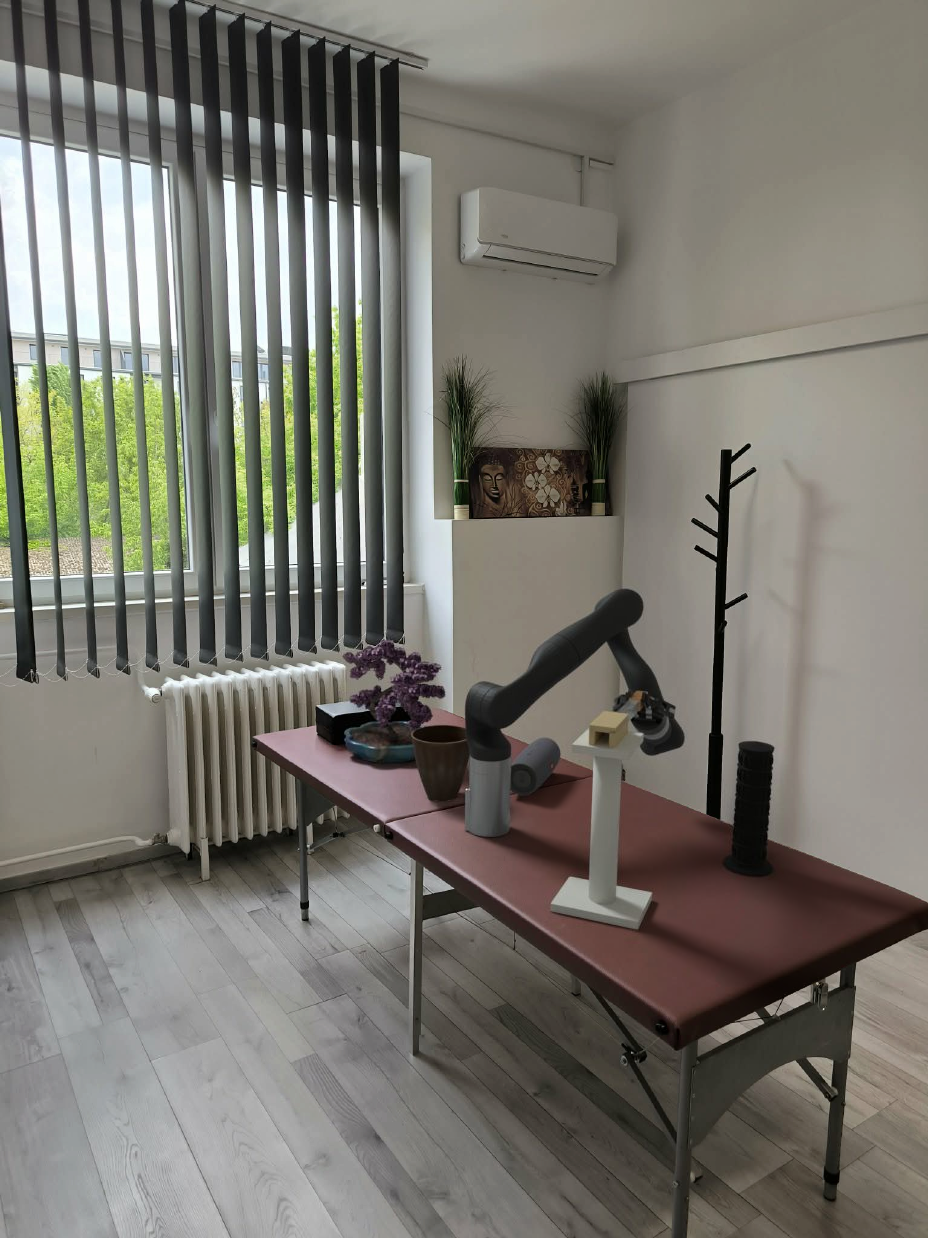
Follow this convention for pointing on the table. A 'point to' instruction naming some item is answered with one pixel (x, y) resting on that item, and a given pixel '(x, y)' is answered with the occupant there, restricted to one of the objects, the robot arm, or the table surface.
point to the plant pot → (441, 759)
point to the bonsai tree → (391, 703)
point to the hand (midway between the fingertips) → (636, 695)
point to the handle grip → (752, 810)
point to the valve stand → (605, 830)
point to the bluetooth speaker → (534, 766)
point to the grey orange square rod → (632, 705)
